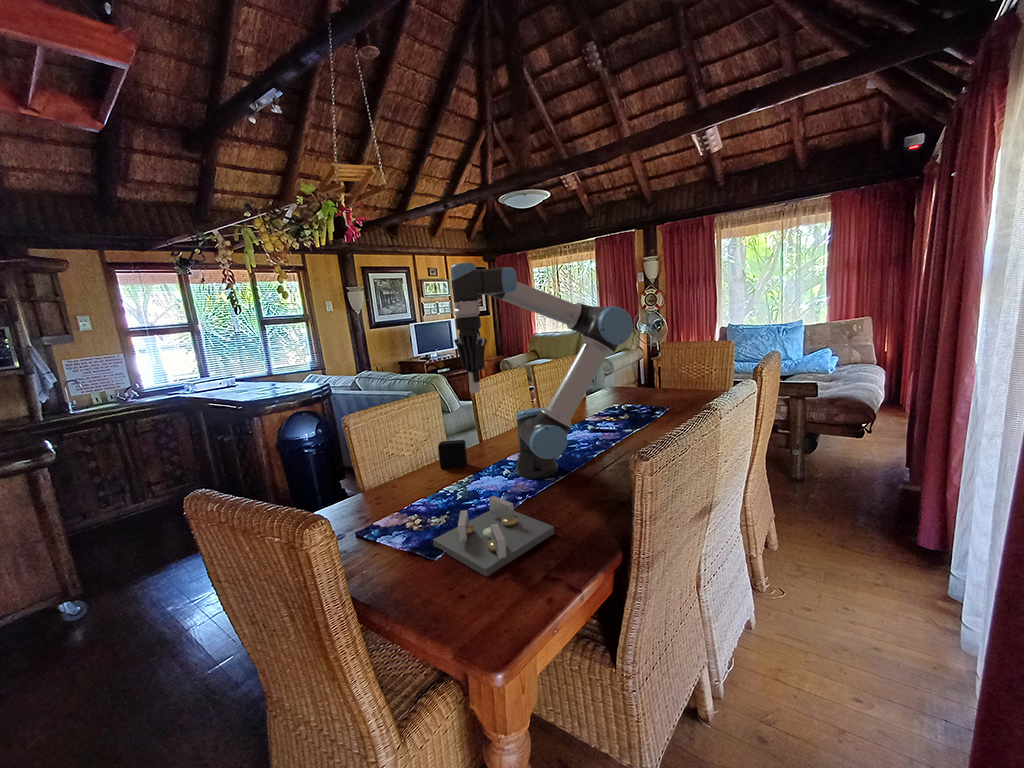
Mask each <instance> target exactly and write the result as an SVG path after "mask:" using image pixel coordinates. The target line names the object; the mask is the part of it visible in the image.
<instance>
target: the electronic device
mask: <svg viewBox="0 0 1024 768" xmlns="http://www.w3.org/2000/svg"><path fill="white" fill-rule="evenodd" d="M437 449H438V450H437V451H438V458H439V459H438V460H439V466H440V469H441V470H453V469H454V470H455V469H465V468H466V467H467V465H468V453H467V447H466V441H465V440H464V439H458V440H457V439H456V440H442V441H440V442H439V443H438V445H437Z"/></svg>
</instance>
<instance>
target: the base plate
mask: <svg viewBox="0 0 1024 768" xmlns="http://www.w3.org/2000/svg"><path fill="white" fill-rule="evenodd" d="M514 515H515V516H517V518H518V524H517V525H515V526H512V527H505V526H503V525H502V518H501V517H499V516H497V515H495V514H492V513H490V510H487V511H486V512H484V513H481V514H480V515H478V516H476V517H474V518H471V519H470V520H468V522H469V524H472V525H473V526H474V532H473V533H472V534H471V535H468V537H467V541H465V542H460V540H459V535H458V533H457V527H458V526H456V527H455V528H452V529H451V530H449V531H447V532H445V533H442V534H440V535H439V536H437V537H435V538H433V539H432V542H433V544H432V545H433V547H434V546H435V547H434V548H436V547H437V548H439V549H441V550H443V551H445V552H446V553H447V554H446V553H445V554H446V555H448V556H449V555H450V557H451V558H453V559H455V560H456V561H458V562H460V563H461V564H463V565H464V566H467V567H468V568H470V569H472V570H474V571H475V572H477V573H479V574H481V575H482V576H484V577H486V578H487V577H490V575H491V576H492V574H494V573H495V572H497V571H498V570H500V569H501V568H503V567H504V566H506V565H507V564H509V563H511V562H512V561H514V560H516V559H517V558H519V557H520V556H522V555H523V554H525V553H527V552H528V551H530V550H531V549H532V548H534V547H536V546H537V545H539V544H540V543H541V542H544V541H546V539H548V538H550V537H551V536H553V535H554V534H555V528H554V527H555V526H554V525H550V524H548V523H547V522H546V523H545V522H543V521H541V520H538V519H536V518H533V517H530V516H528V515H525V514H522V513H520V512H518V511H516V510H514ZM493 524H498V526H499V528H500V530H501V532H502V534H503V536H504V539H505V545H506V556H507V557H504V558H500V559H499V557H498V555H497V553H496V552H491V551H489V550H488V545H487V543H488V541H489V540H491V539H492V538H491V528H490V525H493ZM437 548H436V549H437ZM439 549H438V550H439ZM441 550H440V551H441Z"/></svg>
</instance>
